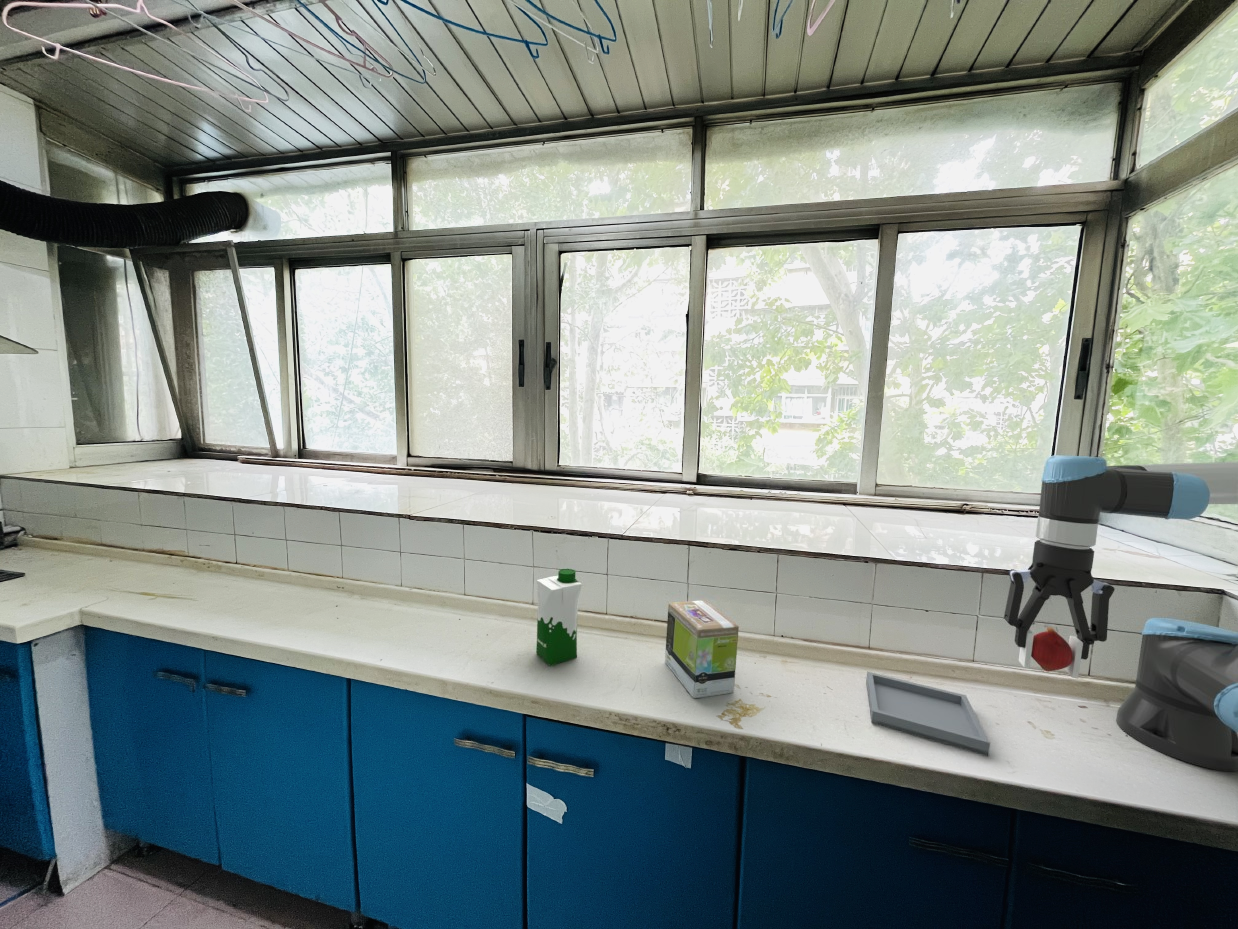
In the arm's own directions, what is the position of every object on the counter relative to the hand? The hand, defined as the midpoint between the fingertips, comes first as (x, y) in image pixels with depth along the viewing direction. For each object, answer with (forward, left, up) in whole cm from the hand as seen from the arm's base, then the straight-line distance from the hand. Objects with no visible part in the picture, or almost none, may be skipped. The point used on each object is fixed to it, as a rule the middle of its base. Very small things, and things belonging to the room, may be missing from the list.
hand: (1047, 669), depth 81 cm
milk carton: (+93, +17, -15) cm, 96 cm away
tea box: (+61, +9, -15) cm, 64 cm away
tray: (+18, 0, -15) cm, 23 cm away
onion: (0, 0, 0) cm, 0 cm away
